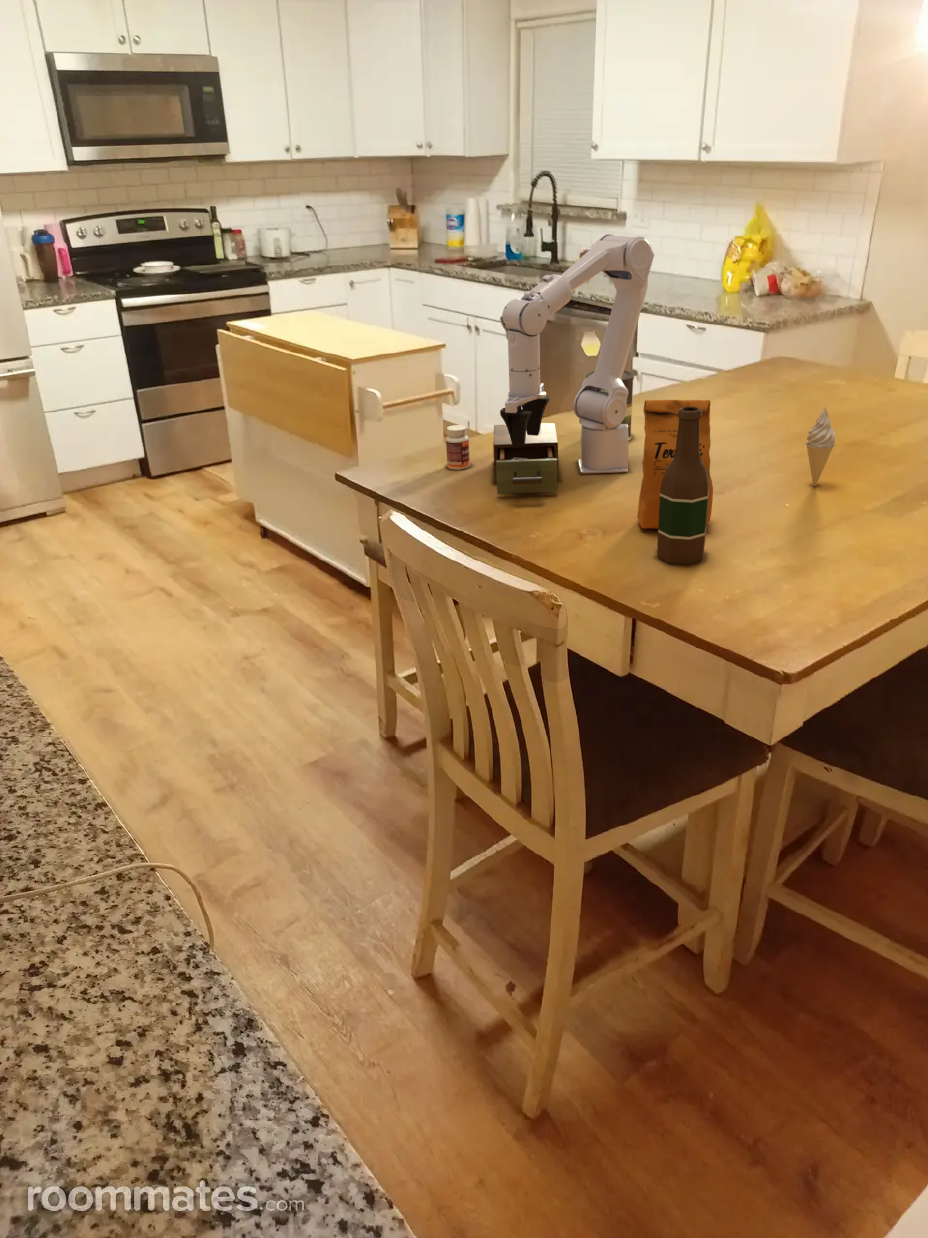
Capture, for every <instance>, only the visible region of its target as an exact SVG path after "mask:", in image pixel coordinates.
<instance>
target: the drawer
mask: <svg viewBox="0 0 928 1238" xmlns="http://www.w3.org/2000/svg"><path fill="white" fill-rule="evenodd" d="M514 457H517V458H527V459H522V460H512V459H513V458H514ZM496 471H497V484H496V494H497V495H508V494H509V495H510V494H512V495H513V494H537V493H539V494H541V493H557V492H558V482H557V458H553V455H552V449H551V446H547V447H521V448H500V460H497V461H496Z"/></svg>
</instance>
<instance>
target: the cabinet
mask: <svg viewBox="0 0 928 1238" xmlns="http://www.w3.org/2000/svg"><path fill="white" fill-rule="evenodd" d="M492 439H493V441H492V442H493V443H492V446H493V448H492V449H493V472H494V473H493V474H494V475H493V476H494V485H497V471H496V461H497V460H500V448H521V447H513V445H512V442H511V439H510V435H509V431H508V428H507V426H506V424H494V425H493V438H492ZM558 439H559V438H558V434H557V428H556V422H541V426H540V431H539V435H538V436H536V435H528V434H527V431H526V439H525V445H524V447H547V446H551V449H552V455H553V458H557V483H558V482H559V440H558Z"/></svg>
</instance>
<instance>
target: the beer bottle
mask: <svg viewBox="0 0 928 1238" xmlns="http://www.w3.org/2000/svg"><path fill="white" fill-rule="evenodd" d="M677 417H678V418H679V424H678V433H677V441H676V449H675V455H674V459H673V460H672V462H671V463H670V464H669V466H668V467H667V470H666V472H665V474H664V477H663V480H662V483H661V491H660V506H659V525H658V529H657V544H656V545H657V548H656V550H657V554H656V555H657V558H658V559H661V560H662V561H664V562H666V563H668V564H669V565H682V566H689V565H693V564H695V563H699V562H702V560H703V558H704V557H703V556H704V553H705V546H706V534H707V526H706V524H707V512H708V499H709V476H708V472H707V469H706V467H705V466H704V464H703V463H702V461H701V458H700V418H701V417H702V411H701V409H700V408H697V407H690V406H687V407H683V408H680V410H679V412H678V415H677Z"/></svg>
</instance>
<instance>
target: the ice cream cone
mask: <svg viewBox="0 0 928 1238" xmlns="http://www.w3.org/2000/svg"><path fill="white" fill-rule="evenodd" d="M826 408H827V407H826V406H824V408H823V409H822V412H821V413H820V415H819V416H818V418H817V419H815V424H814V425H813V427H811V428H810V430H809V431H808V432H807V434H808V435H807V437H806V442H805V445H806V450H807V456H808V462H809V463H808V464H809V468H810V474H811V480H812V486H813V487H816V486H817V484H818V482H819V480H820V477H821V476H822V473H823V471H824V468H825V466H826V464H827V462H828V460H829V457H830V456H831V454H832V453H831V452H832V450H833V449H834V447H835V446H836V445H835V442H836V432H835V429H834V428H833V427H832V425H831V424H832V421H831V419H830V417H829V413H828V410H827V409H826Z"/></svg>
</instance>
